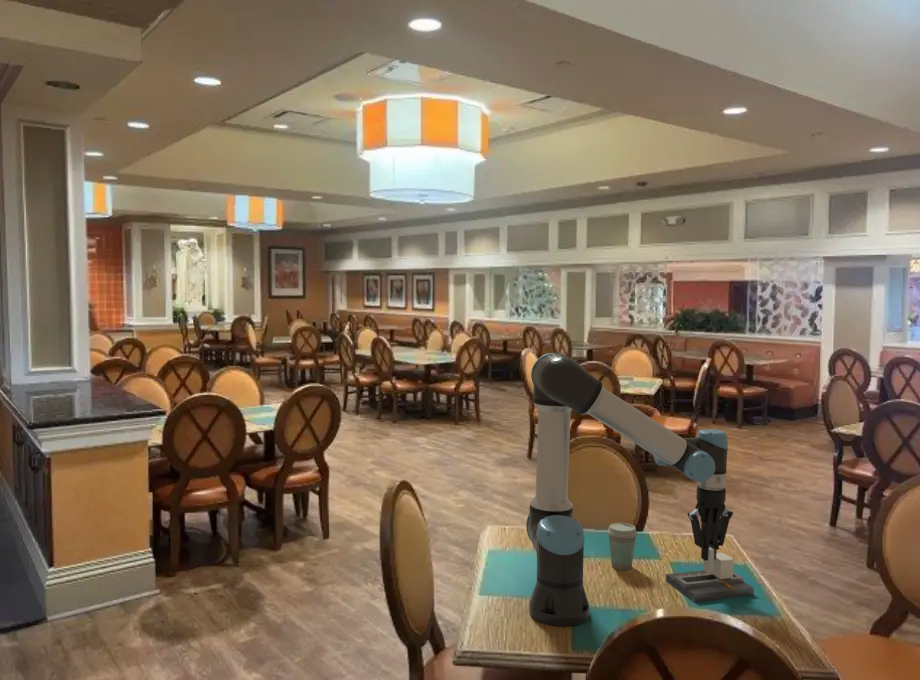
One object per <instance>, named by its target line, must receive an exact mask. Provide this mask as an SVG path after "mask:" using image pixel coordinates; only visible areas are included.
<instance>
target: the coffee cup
mask: <svg viewBox="0 0 920 680" xmlns="http://www.w3.org/2000/svg"><path fill="white" fill-rule="evenodd" d="M636 529H637V528H636V526H635V525H633V524H630V523H625V522H615V523H611V524H610V525H609V527H608V529H607V534H608V540H609V541H608V543H609V551H610V562H611V568H613V569H615V570H618V571H619V570H620V571H627V570H628V571H629V570H631V569H632V567H633V562H634V561H633V560H634V554H635V545H636V539H637V536H638V532H637V530H636Z"/></svg>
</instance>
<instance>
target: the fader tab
mask: <svg viewBox="0 0 920 680" xmlns="http://www.w3.org/2000/svg"><path fill="white" fill-rule="evenodd" d="M734 561H735V559H734V558H732V557H731V556H729V555H727V554H725V553H724V552H716V559H715V560H714V571H713V573H712V574H713V575H715V579H727V578H733V572H734V567H735V565H734V564H735V562H734Z"/></svg>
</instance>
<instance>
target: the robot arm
mask: <svg viewBox="0 0 920 680" xmlns="http://www.w3.org/2000/svg"><path fill="white" fill-rule="evenodd" d="M530 372H531V374H530V376H531V377H530V379H531V383H532V384H533V388H532V390H533V391H532V393H533V394H532V399H533V400H532V403H533V405H534V406H535V408H537V410H538V412H537V413H538V414H537V446H536V449H537V450H536V473H535V474H536V475H535V476H536V479H535V497H533V498H532V499H531V500H530V501H529V513H528V516H527V519H526V525H525V526H526V527H525V528H526V533H527V536H528V539H529V540H530V542H531V545H532V547H534V548H533V549H534V550H535V554H536V581H535V582H536V583H535V586H534V588H533V591H532V594H531V597H530V599H529V609H528V611H529V614H530V616H531V617H532V618H533V619H535V620H536V621H538V622H541V623H543V624H547V625H550V626H557V627H559V626H560V627H569V626H576V625H581V624H583V623H585V622H586V621H587V620H589V618H590V604H589V600H588V597H587V593H586V589H585V586H584V556H585V555H584V553H585V551H584V550H585V549H584V546H585V533H584V527H583V525H582V524H581V522H580V521H578V520H577V519H575V518H573V516H574V515H573V513H574V504H573V503H572V501H571V500H570V499H569V498H568V496H569V495H568V493H569V491H568V490H569V469H570V440H571V439H570V436H571V414H572V413H571V412H572V410H573V411H575V412H576V413H578V414H580V415H582V416H585V415H589V416H590V417H592V418H594V419H596V420H597V421H599V422H600V423H602V424H604V425H605V426H607V428H610V429H612V430H613V431H615V432H617V434H619V435H621V436H623V437H624V438H626V439H627V440H629V441H630V442H632V443H634V444H636V445H637V446H639V448H642V449H643V450H645V451H647V452H649V453H650V454H651V455H653V460H654V462H655V464H656V465H658V466H661V467H667V468H668V467H672V468H673V469H675V470H676V471H678V472H680V473H681V474H683V475H684V476H686V478H688V479H690V480H691V481H694V482H696V484H697V486H696V494H695V495H696V505H695V507H694V510H693V511H688V512H687V516H688V518H689V520H690V524H691V529H692V536H693V541H694V545H696V546H697V547H699V548H700V549H701V555H700V557H701V560H702V561H703V562H702V570H705V571H706V572H708V573H713V571H714V560H715V559H716V553H717V551H719V550H720V546H721V547H722V546H724V544H725V539H726V535H727V531H728V527H729V524H730V520H731V518H732V517H733V515H734V512H733V511H731V510H730V509H727V508H726V504H725V502H726V498H727V497H726V493H727V491H726V489H725V488H726V486H727V463H728V461H727V460H728V450H729V447H728V446H729V445H728V444H729V443H728V435H727V433H726V432H725V431H722V430H721V429H711V428H710V429H709V428H707V429H700V430H699V431H698V434H697V437H682V436H680V435H679V434H677V433H675V432H674V431H672V430H671V429H669V428H667V427H666V426H664V425H662V424H661V423H659V422H658V421H656V420H654V419H653V418H652V417H650V416H648V415H647V414H646V413H644V412H642V411H641V410H639V409H638V408H635V407H634V406H632V404H630V403H628V402H627V401H625V400H624V399H622V398H620V397H619V396H617V395H615V394H614V393H613V392H610V391H609V390H607V389H606V388H605V385H604V382H602V381H601V380H599V378H596V377H595V376H594V375H593V374H591V373H590V372H589V371H588V370H586V369H585V368H584V367H583V366H582V365H581V364H579V363H578V362H577V361H576V360H575V359H573V358H571V357H570V356H567V355H565V354H563V353H559V352H549V353H545V354H543V355H542V356H540V357H539V358H538V359H537V360H536V361H535V362H534V364H533V366H532V368H531V371H530Z"/></svg>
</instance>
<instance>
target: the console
mask: <svg viewBox="0 0 920 680" xmlns="http://www.w3.org/2000/svg"><path fill="white" fill-rule="evenodd" d="M665 578H666V579H665V580H666V581H665V582H666V583H668V584H669V585H670V586H672V587H673V588H675V589H676V590H678V592H680V593H681V594H683V595H684V596H685V597H687V598H688V599H689V600H691V601H692V602H694V603H699V602H707V601H714V600H716V601H717V600H722V599H730V598H731V599H732V598H740V597H741V598H742V597H747V596H748V595H749V596H754V594H755V592H754V591H755V588H754V587H753V586H752V585H750V584H748V583H747V582H745V581H744V580H745V578H744V577H743V576H741V575H740V574H737V572H735V571H733V578H727V579H715V575H713V574H712V573H708V572H706V571H705V570H703V569H702V570H693V571H684V572H677V573H674V572H673V573H668V574H667V573H666V574H665ZM746 595H747V596H746Z"/></svg>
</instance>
